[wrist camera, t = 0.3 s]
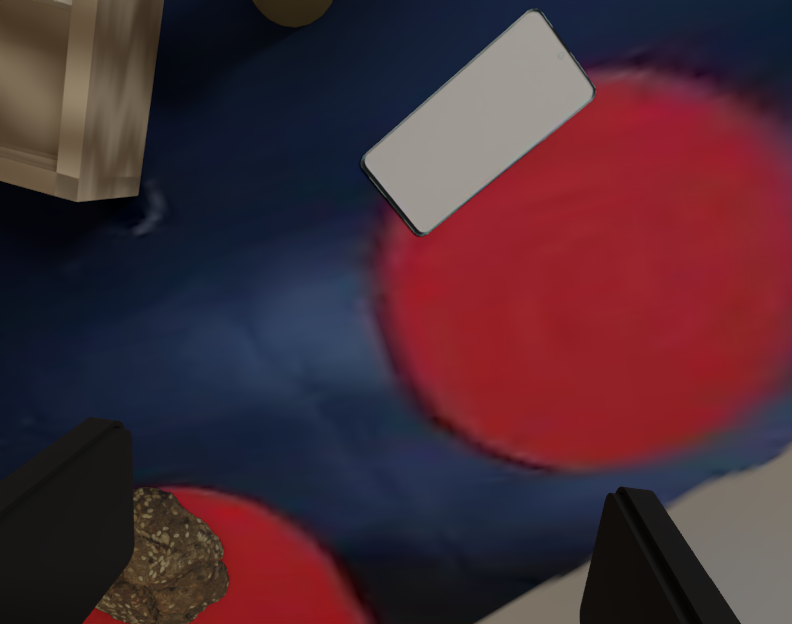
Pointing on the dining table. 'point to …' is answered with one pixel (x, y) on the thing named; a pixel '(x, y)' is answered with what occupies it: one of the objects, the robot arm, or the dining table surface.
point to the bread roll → (167, 565)
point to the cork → (293, 11)
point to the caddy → (76, 95)
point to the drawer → (58, 3)
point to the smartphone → (479, 123)
